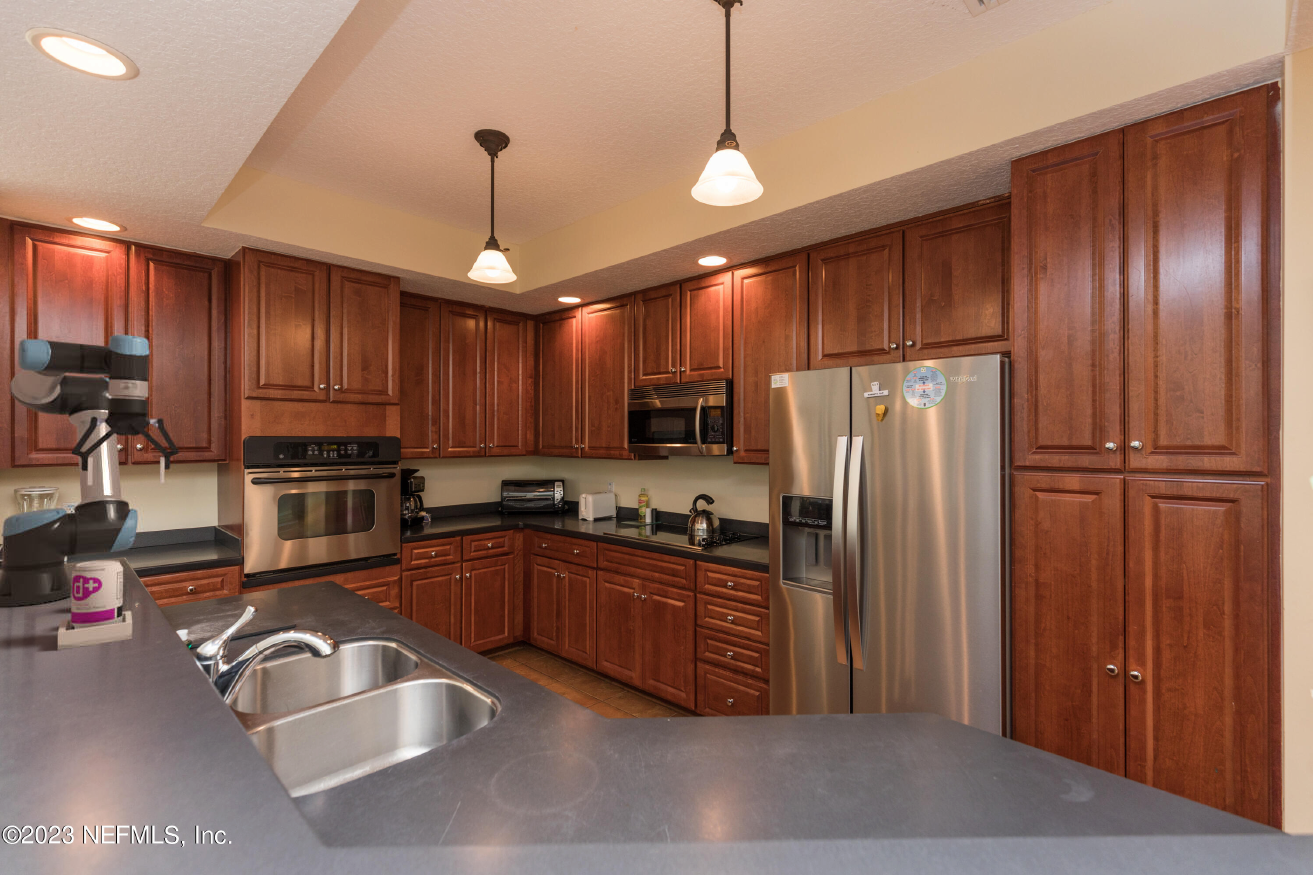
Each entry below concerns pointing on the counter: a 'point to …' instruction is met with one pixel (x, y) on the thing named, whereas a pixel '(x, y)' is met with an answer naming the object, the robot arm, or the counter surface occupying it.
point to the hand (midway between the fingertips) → (127, 483)
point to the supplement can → (96, 594)
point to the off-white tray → (94, 633)
